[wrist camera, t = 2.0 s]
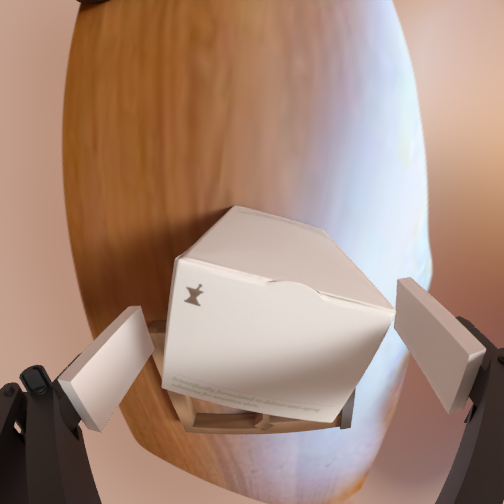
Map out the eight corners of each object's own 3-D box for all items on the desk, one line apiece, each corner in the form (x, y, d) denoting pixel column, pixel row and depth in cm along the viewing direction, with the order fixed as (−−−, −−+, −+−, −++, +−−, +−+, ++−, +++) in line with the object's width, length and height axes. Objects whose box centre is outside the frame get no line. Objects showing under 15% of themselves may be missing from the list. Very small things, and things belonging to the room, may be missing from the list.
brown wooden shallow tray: (153, 320, 28) (142, 335, 25) (352, 303, 25) (360, 319, 23) (190, 418, 32) (185, 434, 29) (346, 410, 30) (350, 427, 27)
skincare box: (216, 269, 26) (149, 389, 11) (234, 198, 24) (165, 247, 9) (305, 294, 26) (331, 431, 11) (329, 225, 24) (404, 312, 9)
